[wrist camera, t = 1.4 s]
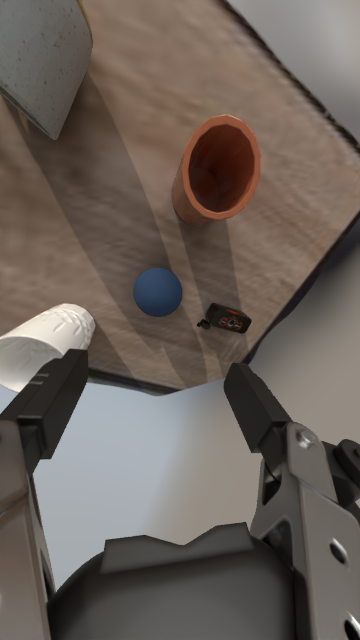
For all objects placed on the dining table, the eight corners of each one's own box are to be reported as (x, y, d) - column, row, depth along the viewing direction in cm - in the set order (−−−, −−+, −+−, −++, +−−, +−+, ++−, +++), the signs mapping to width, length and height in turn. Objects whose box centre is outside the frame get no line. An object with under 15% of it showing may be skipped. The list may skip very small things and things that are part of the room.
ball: (133, 303, 26) (128, 321, 20) (138, 259, 23) (132, 267, 18) (174, 309, 27) (179, 328, 22) (183, 268, 25) (191, 278, 19)
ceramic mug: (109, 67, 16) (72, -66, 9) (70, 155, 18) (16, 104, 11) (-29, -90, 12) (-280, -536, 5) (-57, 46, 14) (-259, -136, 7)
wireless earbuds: (206, 299, 27) (212, 307, 24) (243, 311, 29) (253, 319, 26) (195, 324, 29) (200, 333, 26) (231, 333, 31) (239, 343, 28)
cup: (167, 218, 22) (175, 208, 14) (177, 156, 19) (193, 99, 11) (212, 230, 23) (243, 227, 15) (227, 173, 20) (274, 132, 12)
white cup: (104, 342, 28) (81, 390, 19) (54, 347, 27) (6, 400, 19) (92, 297, 25) (57, 331, 16) (34, 301, 24) (-37, 340, 15)
